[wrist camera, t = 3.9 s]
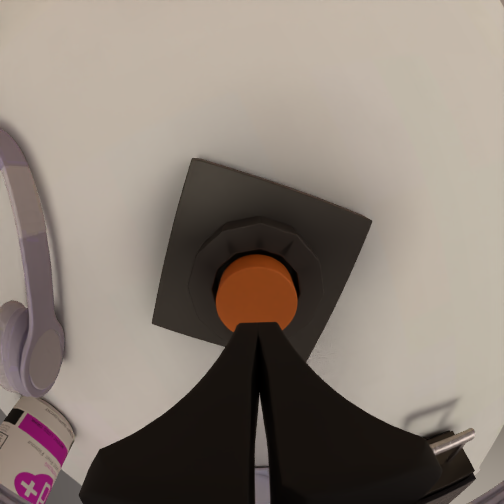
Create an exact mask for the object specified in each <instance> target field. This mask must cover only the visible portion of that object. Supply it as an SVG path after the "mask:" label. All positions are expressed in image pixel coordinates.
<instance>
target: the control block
mask: <svg viewBox="0 0 504 504" xmlns="http://www.w3.org/2000/svg"><path fill="white" fill-rule="evenodd" d="M371 224H372V220H370V219H368V218H366V217H365V216H363V215H361V214H358V213H356V212H353V211H351V210H348V209H346V208H343V207H341V206H338V205H336V204H333V203H331V202H328V201H325V200H323V199H320V198H317V197H315V196H312V195H309V194H307V193H304V192H301V191H298V190H296V189H293V188H290V187H287V186H284V185H281V184H279V183H276V182H273V181H270V180H267V179H264V178H261V177H258V176H255V175H252V174H249V173H246V172H242V171H239V170H236V169H233V168H230V167H226V166H223V165H220V164H216V163H213V162H210V161H206V160H203V159H199V158H192V160H191V163H190V166H189V170H188V173H187V176H186V180H185V183H184V187H183V190H182V194H181V197H180V201H179V204H178V208H177V212H176V216H175V219H174V223H173V227H172V231H171V235H170V239H169V243H168V248H167V252H166V256H165V260H164V265H163V269H162V274H161V279H160V283H159V288H158V293H157V298H156V303H155V308H154V314H153V319H152V324H154V325H157V326H160V327H163V328H166V329H169V330H172V331H175V332H178V333H181V334H184V335H187V336H191V337H194V338H197V339H200V340H204V341H207V342H210V343H214V344H217V345H221V346H225V347H226V345H227V344H228V342H229V340H230V339H231V337H232V335H233V333H234V332H232V331H231V330H230V329H228V328H227V327H226V326H225V325H224V324H223V322H222V321H221V319H220V318H219V316H218V313H217V309H216V296H217V292H218V288H219V284H220V279H221V277H222V274H223V272H224V271H225V269H226V268H227V267H228V266H229V265H230V264H231V263H232V262H233V261H235V260H236V259H238V258H240V257H243V256H246V255H252V254H261V255H266V256H270V257H272V258H274V259H276V260H278V261H279V262H281V263H282V264H283V265H284V266H285V267H286V269H287V270H288V272H289V273H290V276H291V278H292V281H293V284H294V287H295V290H296V294H297V300H298V303H297V310H296V313H295V316H294V317H293V319H292V321H291V322H290V323H289V325H288V326H287V327H286V328H284V329H283V330H282V331H283V333H284V334H285V336H286V337H287V339H288V340H289V342H290V343H291V345H292V346H293V347H294V349H295V350H296V351H297V352H298V354H299V355H300V356H301V357H302V359H303V360H304V361H305V362H306V361H307V359H308V358H309V356H310V354H311V352H312V350H313V348H314V347H315V345H316V343H317V341H318V339H319V337H320V335H321V333H322V331H323V329H324V327H325V326H326V324H327V322H328V320H329V318H330V316H331V314H332V312H333V310H334V307H335V305H336V303H337V301H338V299H339V297H340V295H341V293H342V291H343V289H344V287H345V284H346V282H347V280H348V278H349V276H350V273H351V271H352V269H353V267H354V264H355V262H356V260H357V258H358V255H359V253H360V250H361V248H362V246H363V243H364V241H365V239H366V236H367V234H368V231H369V229H370V226H371Z"/></svg>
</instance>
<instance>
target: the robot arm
mask: <svg viewBox="0 0 504 504" xmlns="http://www.w3.org/2000/svg"><path fill="white" fill-rule="evenodd" d="M259 392H260V399H261V406H262V412H263V419H264V426H265V432H266V439H267V446H268V459H269V468H255V438H256V427H257V416H258V404H259ZM441 474H442V468H441V466H440V464H439V462H438V460H437V458H436V456H435V454H434V452H433V450H432V448H431V447H430V446H429V444H428V442H427V441H426V439H425V438H423V437H420V436H418V435H415V434H412V433H410V432H407V431H404V430H402V429H399V428H397V427H394V426H392V425H390V424H388V423H386V422H384V421H382V420H380V419H378V418H376V417H374V416H372V415H370V414H368V413H367V412H365V411H363V410H362V409H360V408H359V407H357V406H356V405H354V404H353V403H351V402H350V401H348V400H346V399H345V398H344V397H342V396H341V395H340V394H339V393H337V392H336V391H335V390H334V389H332V388H331V387H330V386H329V385H328V384H327V383H325V382H324V381H323V380H322V379H321V378H320V377H319V376H318V375H317V374H316V373H315V372H314V371H313V370H312V369H311V368H310V367H309V366H308V364H307V363H306V362H305V361H304V360H303V359H302V357H301V356H300V355H299V354H298V352H297V351H296V350H295V349H294V347H293V346H292V345H291V343H290V342H289V340H288V339H287V337H286V336H285V334H284V333H283V331H282V329H281V328H280V326H279V324H278V323H277V322H254V323H239V324H238V325H237V326H236V328H235V331H234V333H233V335H232V337H231V339H230V340H229V342H228V344H227V345H226V347H225V349H224V350H223V352H222V353H221V355H220V356H219V358H218V359H217V360H216V362H215V363H214V364H213V366H212V367H211V368H210V369H209V371H208V372H207V373H206V375H205V376H204V377H203V378H202V379H201V380H200V381H199V383H198V384H197V385H196V386H195V387H194V388H193V389H192V390H191V391H190V392H189V393H188V394H187V395H186V396H185V397H183V398H182V399H181V400H180V401H179V402H178V403H177V404H175V405H174V406H173V407H172V408H171V409H169V410H168V411H167V412H166V413H164V414H163V415H162V416H160V417H159V418H157V419H156V420H154V421H153V422H151V423H150V424H148V425H147V426H145V427H144V428H142V429H140V430H139V431H137V432H135V433H134V434H132V435H130V436H128V437H126V438H124V439H122V440H120V441H117V442H115V443H113V444H111V445H109V446H107V447H104V448H102V449H100V450H99V451H98V453H97V455H96V457H95V458H94V460H93V462H92V464H91V466H90V468H89V470H88V473H87V475H86V478H85V480H84V483H83V485H82V488H81V490H80V493H79V497H80V499H81V501H82V503H83V504H420V503H419V500H420V499H421V498H422V497H423V496H424V495H425V494H426V493H427V492H428V491H429V490H430V489H431V488H432V487H433V486H434V485H435V484H436V483H437V481H438V480H439V478H440V476H441ZM0 504H32V503H31V502H29V501H27V500H26V499H24V498H22V497H21V496H19V495H17V494H16V493H14V492H13V491H11V490H9V489H8V488H6V487H5V486H3V485H2V484H1V483H0ZM468 504H504V481H503V482H501V483H500V484H498V485H497V486H495V487H494V488H492V489H491V490H489V491H488V492H486V493H484V494H483V495H481V496H480V497H478V498H476V499H474V500H473V501H471V502H469V503H468Z"/></svg>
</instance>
